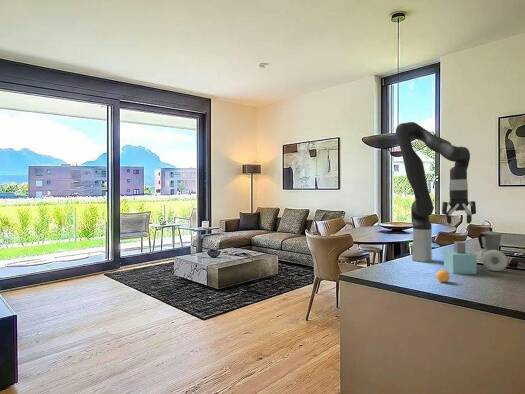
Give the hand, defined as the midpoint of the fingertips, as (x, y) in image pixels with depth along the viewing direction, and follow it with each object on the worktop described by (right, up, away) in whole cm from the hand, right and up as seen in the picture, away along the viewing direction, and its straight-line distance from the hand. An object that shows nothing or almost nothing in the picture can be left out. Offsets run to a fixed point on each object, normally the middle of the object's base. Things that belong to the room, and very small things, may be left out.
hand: (459, 223), depth 164 cm
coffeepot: (+26, -22, +17) cm, 38 cm away
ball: (-16, -21, -17) cm, 31 cm away
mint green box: (+1, -23, +1) cm, 23 cm away
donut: (+16, -23, -1) cm, 28 cm away
